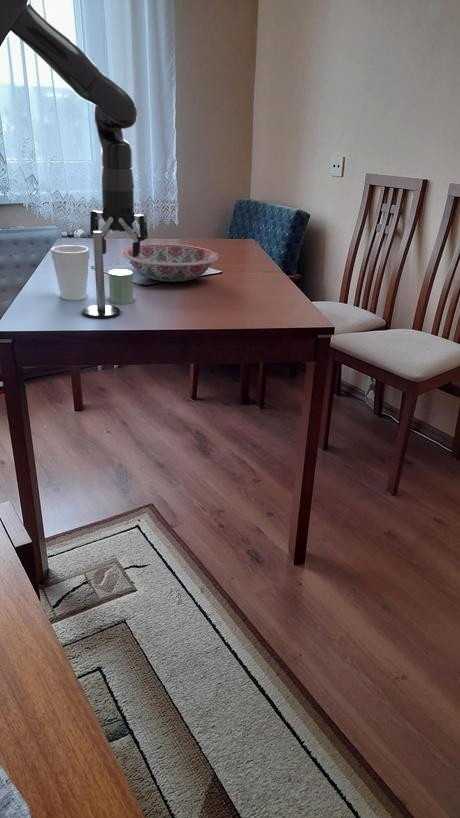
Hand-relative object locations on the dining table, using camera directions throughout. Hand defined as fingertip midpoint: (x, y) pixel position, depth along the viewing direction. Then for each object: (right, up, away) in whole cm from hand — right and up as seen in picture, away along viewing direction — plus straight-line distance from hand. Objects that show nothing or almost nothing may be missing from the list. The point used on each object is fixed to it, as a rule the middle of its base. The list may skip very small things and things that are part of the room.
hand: (119, 255), depth 142 cm
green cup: (-1, -11, +6) cm, 12 cm away
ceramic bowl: (+10, 0, +30) cm, 31 cm away
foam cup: (-14, -10, +6) cm, 18 cm away
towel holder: (-3, -16, -5) cm, 17 cm away
